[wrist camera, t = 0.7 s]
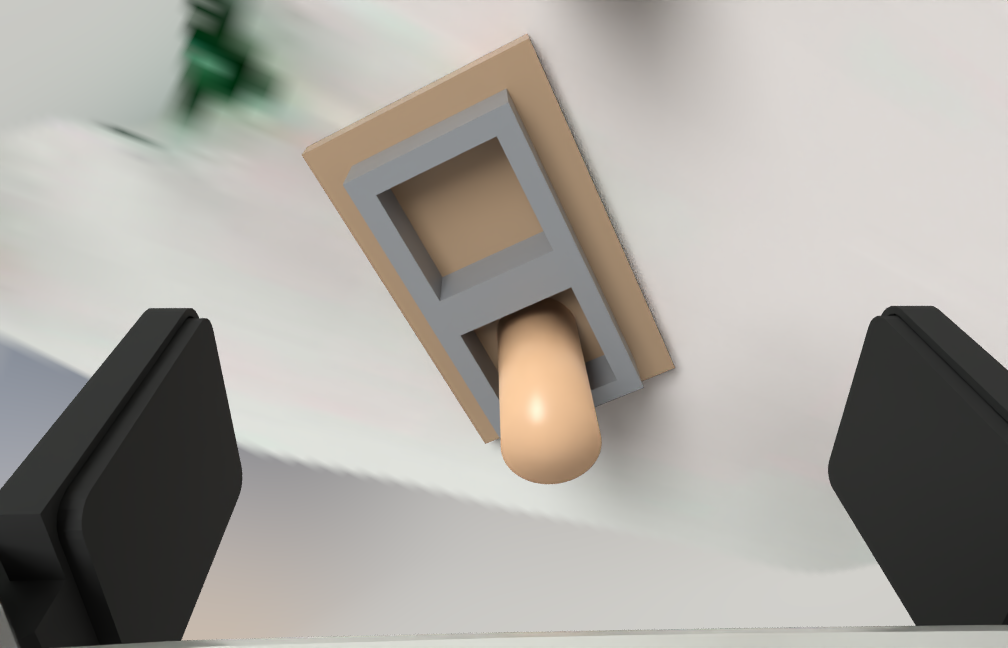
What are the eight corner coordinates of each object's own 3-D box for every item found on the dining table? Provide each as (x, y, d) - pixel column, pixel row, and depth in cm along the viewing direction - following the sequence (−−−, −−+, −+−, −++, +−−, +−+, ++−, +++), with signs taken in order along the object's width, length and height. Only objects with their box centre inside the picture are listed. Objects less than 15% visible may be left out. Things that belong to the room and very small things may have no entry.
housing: (527, 33, 32) (544, 85, 23) (669, 355, 40) (723, 486, 31) (307, 147, 34) (244, 234, 25) (485, 430, 42) (485, 572, 33)
